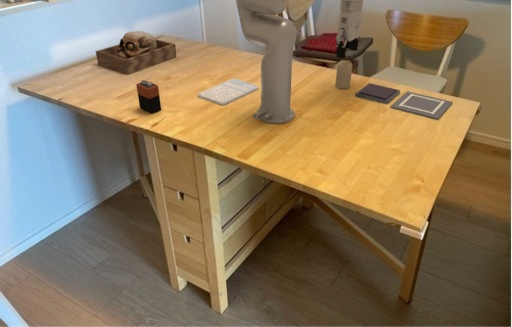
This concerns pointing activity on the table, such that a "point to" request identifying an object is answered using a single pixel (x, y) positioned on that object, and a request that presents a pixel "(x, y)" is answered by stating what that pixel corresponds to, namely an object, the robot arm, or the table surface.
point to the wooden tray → (136, 58)
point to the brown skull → (136, 44)
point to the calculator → (228, 92)
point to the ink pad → (377, 93)
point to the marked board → (422, 105)
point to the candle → (343, 74)
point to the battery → (148, 96)
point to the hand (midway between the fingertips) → (346, 53)
